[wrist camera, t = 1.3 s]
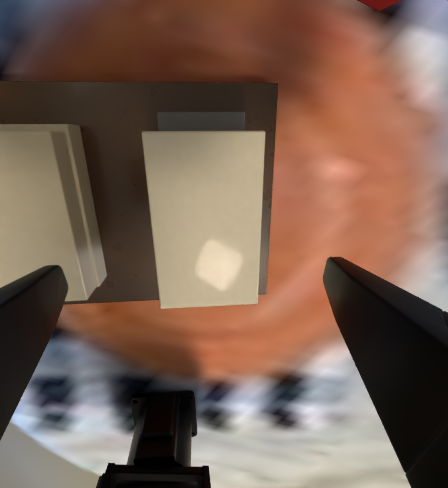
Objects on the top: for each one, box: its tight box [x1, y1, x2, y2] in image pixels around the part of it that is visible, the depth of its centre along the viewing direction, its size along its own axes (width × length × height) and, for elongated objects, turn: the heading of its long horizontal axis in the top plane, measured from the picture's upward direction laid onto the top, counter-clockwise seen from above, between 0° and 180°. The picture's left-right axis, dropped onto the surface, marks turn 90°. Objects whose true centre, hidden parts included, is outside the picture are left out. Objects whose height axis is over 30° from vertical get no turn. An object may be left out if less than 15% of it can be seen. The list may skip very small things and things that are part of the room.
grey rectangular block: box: [157, 112, 245, 131], centre depth 19 cm, size 12×5×4 cm, turn 0°
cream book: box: [142, 131, 265, 309], centre depth 16 cm, size 10×6×2 cm, turn 0°
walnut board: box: [0, 81, 278, 304], centre depth 20 cm, size 16×22×1 cm
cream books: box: [0, 124, 107, 301], centre depth 18 cm, size 11×6×4 cm, turn 0°
